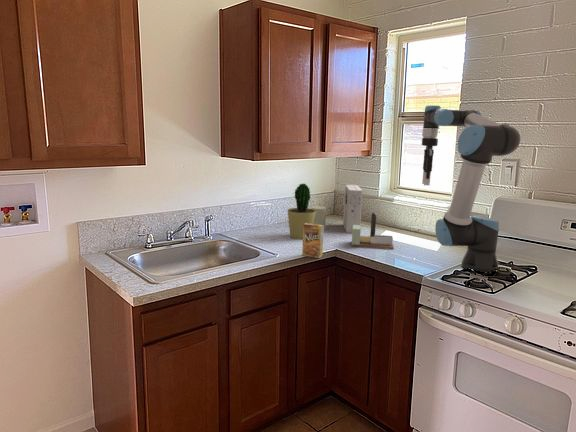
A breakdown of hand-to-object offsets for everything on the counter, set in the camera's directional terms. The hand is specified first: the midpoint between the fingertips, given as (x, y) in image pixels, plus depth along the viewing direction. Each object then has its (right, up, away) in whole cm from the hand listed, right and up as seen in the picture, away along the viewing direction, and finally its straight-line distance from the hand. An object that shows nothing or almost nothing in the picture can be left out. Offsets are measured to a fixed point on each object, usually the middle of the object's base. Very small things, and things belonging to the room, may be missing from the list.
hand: (425, 184), depth 228 cm
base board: (-26, -31, +7) cm, 41 cm away
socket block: (-34, -29, +8) cm, 46 cm away
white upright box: (-32, -24, +43) cm, 58 cm away
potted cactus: (-62, -27, +21) cm, 71 cm away
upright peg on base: (-29, -29, +7) cm, 42 cm away
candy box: (-58, -35, -15) cm, 69 cm away
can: (-51, -22, +48) cm, 73 cm away
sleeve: (-21, -30, +6) cm, 37 cm away
